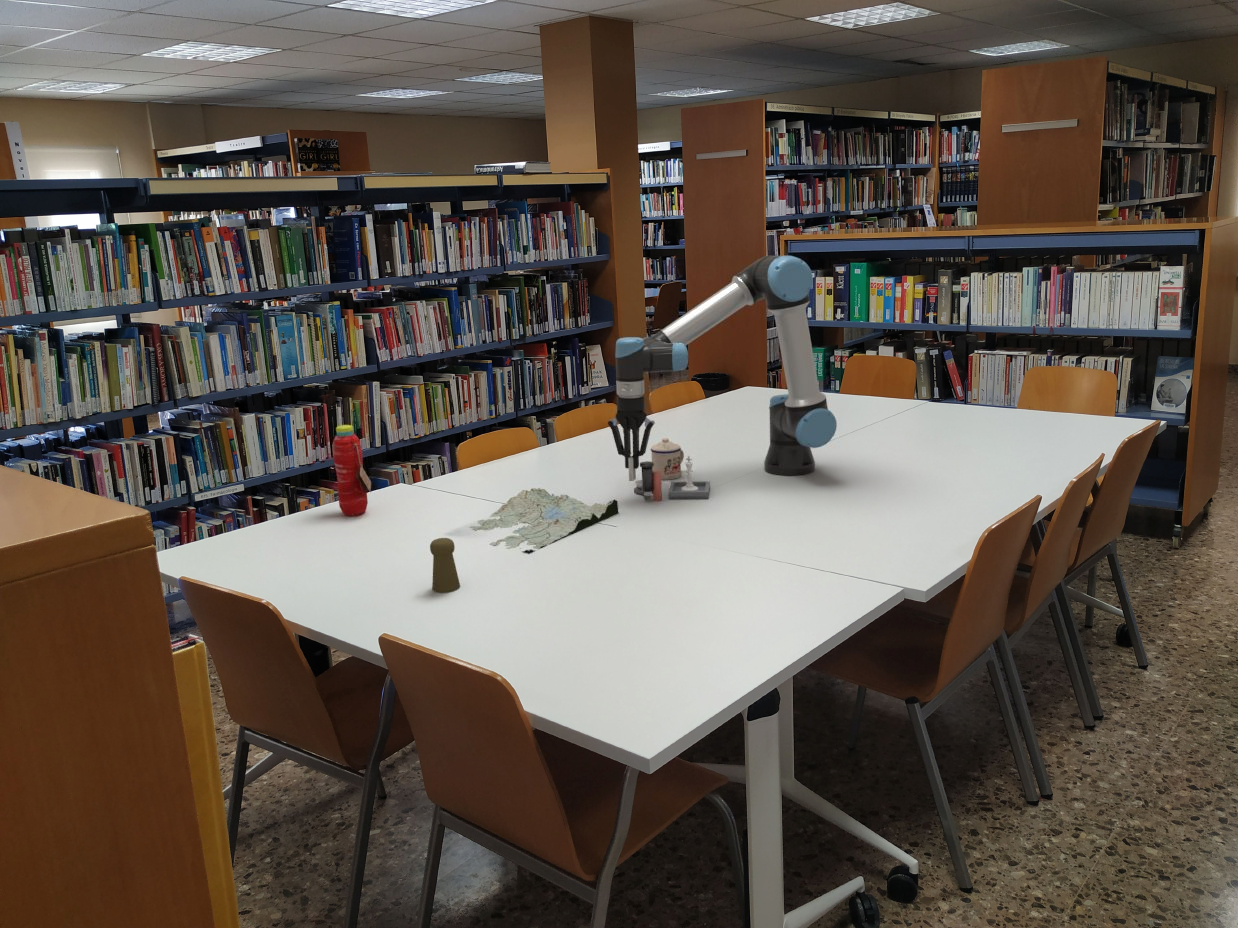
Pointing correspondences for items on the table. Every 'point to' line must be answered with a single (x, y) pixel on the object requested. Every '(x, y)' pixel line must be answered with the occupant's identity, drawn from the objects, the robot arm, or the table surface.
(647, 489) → the crank arm
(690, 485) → the chess piece
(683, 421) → the table surface
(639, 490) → the crank base
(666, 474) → the teacup with lid
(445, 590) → the cork
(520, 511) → the topographic map model
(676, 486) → the tray
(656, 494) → the post
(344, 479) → the water bottle
